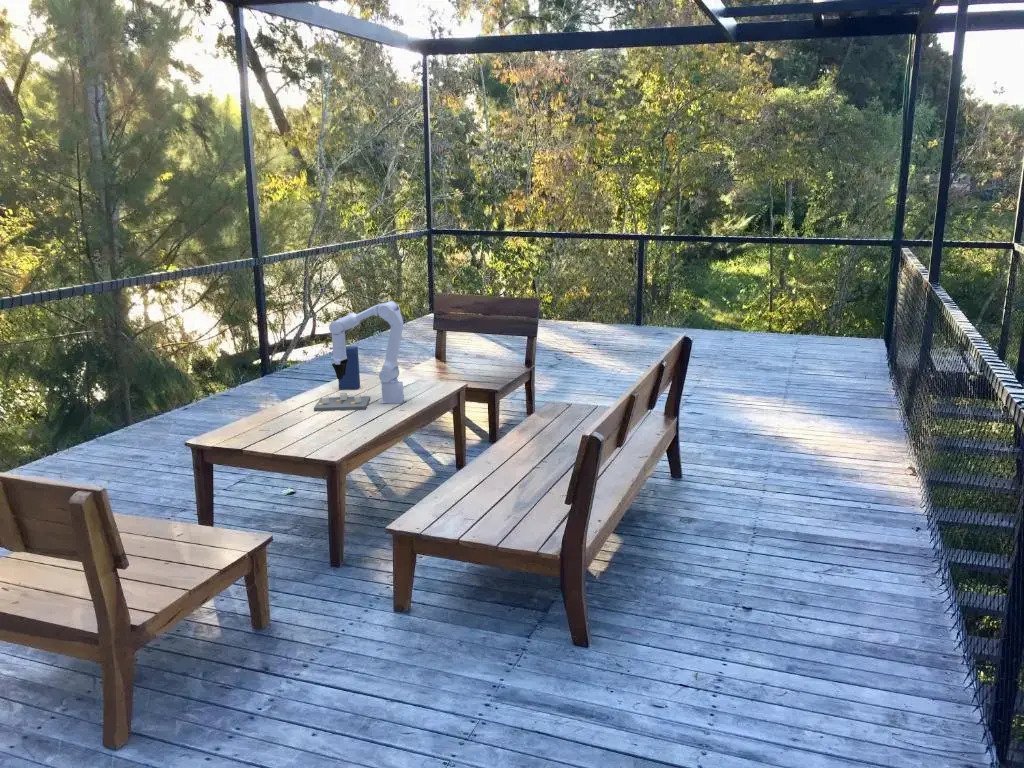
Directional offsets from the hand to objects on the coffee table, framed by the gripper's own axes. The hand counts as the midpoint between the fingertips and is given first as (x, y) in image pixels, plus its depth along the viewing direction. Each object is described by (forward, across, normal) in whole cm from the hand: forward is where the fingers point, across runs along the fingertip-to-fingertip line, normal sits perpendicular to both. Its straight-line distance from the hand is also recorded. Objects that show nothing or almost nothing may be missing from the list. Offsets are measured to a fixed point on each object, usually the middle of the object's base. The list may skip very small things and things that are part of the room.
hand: (341, 377), depth 395 cm
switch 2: (+9, +7, +1) cm, 11 cm away
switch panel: (+10, +10, +2) cm, 15 cm away
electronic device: (+11, -22, 0) cm, 24 cm away
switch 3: (+9, +12, +8) cm, 17 cm away
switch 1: (+9, +12, -5) cm, 16 cm away
